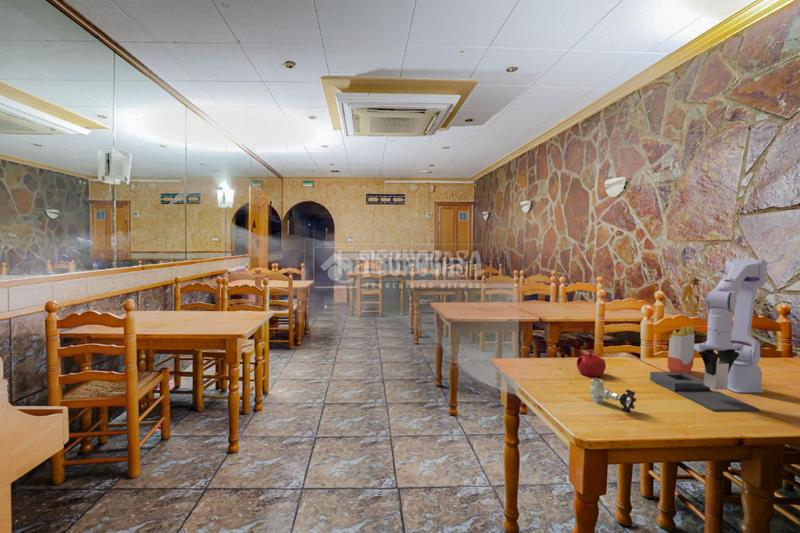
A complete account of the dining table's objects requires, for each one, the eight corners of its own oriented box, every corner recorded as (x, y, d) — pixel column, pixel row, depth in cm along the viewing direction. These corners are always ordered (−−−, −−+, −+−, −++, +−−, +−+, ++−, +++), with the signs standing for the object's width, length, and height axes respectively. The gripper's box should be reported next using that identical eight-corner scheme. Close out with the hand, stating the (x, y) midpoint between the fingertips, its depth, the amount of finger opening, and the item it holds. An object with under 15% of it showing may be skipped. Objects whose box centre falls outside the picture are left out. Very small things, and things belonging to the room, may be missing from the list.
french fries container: (666, 372, 149) (668, 326, 148) (679, 368, 155) (681, 323, 154) (679, 376, 145) (681, 328, 144) (693, 371, 151) (695, 325, 150)
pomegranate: (609, 374, 146) (610, 350, 146) (599, 380, 139) (600, 354, 139) (582, 368, 153) (583, 345, 153) (571, 373, 147) (572, 349, 146)
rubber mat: (718, 393, 128) (718, 391, 128) (759, 411, 114) (759, 408, 114) (677, 393, 127) (677, 391, 127) (713, 411, 113) (713, 409, 113)
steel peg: (715, 384, 123) (717, 359, 122) (727, 389, 119) (728, 363, 118) (703, 384, 123) (705, 359, 122) (714, 389, 119) (716, 363, 118)
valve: (584, 401, 120) (623, 415, 110) (584, 380, 120) (624, 392, 110) (596, 397, 124) (636, 410, 113) (597, 376, 123) (636, 388, 113)
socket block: (682, 380, 141) (682, 371, 141) (710, 392, 129) (710, 383, 129) (650, 380, 140) (650, 371, 140) (674, 392, 128) (675, 383, 128)
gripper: (729, 327, 124) (727, 369, 125) (686, 327, 123) (684, 370, 123) (750, 332, 117) (748, 376, 118) (706, 332, 116) (704, 377, 116)
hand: (717, 373), depth 120 cm, fingers closed on steel peg, 4 cm apart
